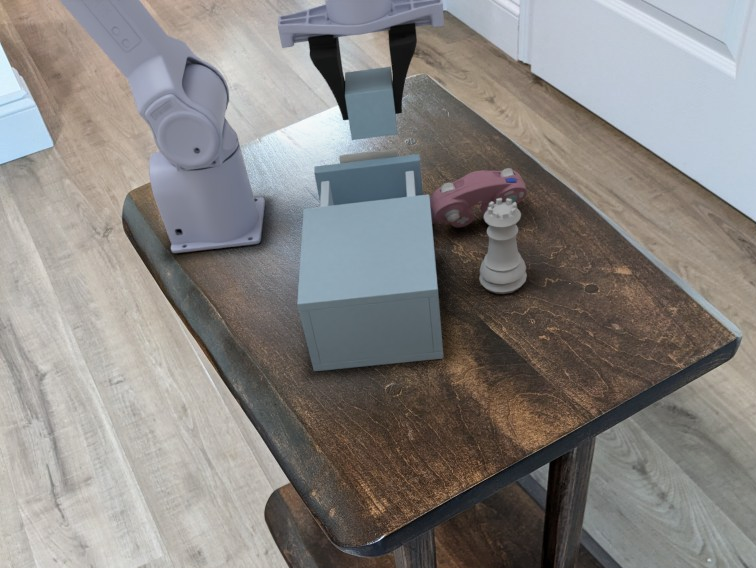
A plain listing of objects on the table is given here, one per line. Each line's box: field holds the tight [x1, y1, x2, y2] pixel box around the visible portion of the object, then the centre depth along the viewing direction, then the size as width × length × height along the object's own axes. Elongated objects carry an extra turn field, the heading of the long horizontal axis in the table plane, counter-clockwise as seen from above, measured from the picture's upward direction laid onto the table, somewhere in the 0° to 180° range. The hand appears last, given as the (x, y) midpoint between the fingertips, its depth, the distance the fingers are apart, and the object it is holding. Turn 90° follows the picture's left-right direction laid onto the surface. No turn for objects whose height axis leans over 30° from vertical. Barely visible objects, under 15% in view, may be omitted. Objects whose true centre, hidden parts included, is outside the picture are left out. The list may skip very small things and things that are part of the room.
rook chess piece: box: [478, 198, 528, 295], centre depth 78 cm, size 4×4×8 cm
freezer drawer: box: [313, 148, 424, 207], centre depth 84 cm, size 17×10×6 cm, turn 1°
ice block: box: [344, 66, 398, 141], centre depth 82 cm, size 4×4×4 cm
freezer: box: [296, 193, 444, 372], centre depth 77 cm, size 14×12×8 cm
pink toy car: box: [429, 167, 528, 228], centre depth 85 cm, size 10×5×7 cm, turn 104°
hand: (372, 111), depth 83 cm, fingers closed on ice block, 4 cm apart
